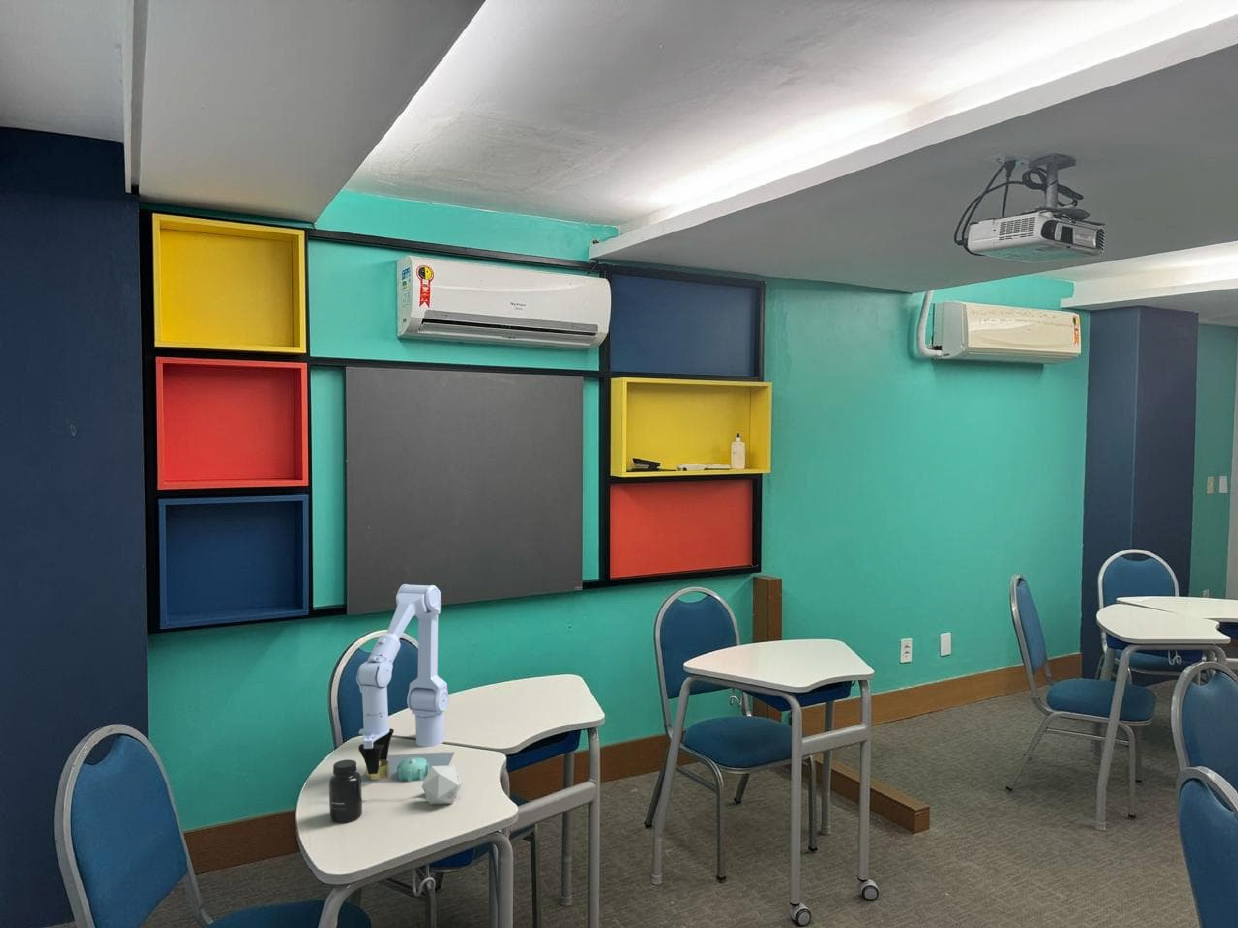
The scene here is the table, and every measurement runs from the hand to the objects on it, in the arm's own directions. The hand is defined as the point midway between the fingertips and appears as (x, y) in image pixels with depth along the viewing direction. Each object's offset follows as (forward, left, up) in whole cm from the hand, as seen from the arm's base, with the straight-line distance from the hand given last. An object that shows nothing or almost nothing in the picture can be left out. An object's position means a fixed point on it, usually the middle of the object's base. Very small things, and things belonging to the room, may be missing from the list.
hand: (377, 766), depth 202 cm
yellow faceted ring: (0, 0, -2) cm, 2 cm away
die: (+13, +18, -4) cm, 22 cm away
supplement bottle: (+19, -2, -4) cm, 19 cm away
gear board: (-5, +6, -3) cm, 9 cm away
